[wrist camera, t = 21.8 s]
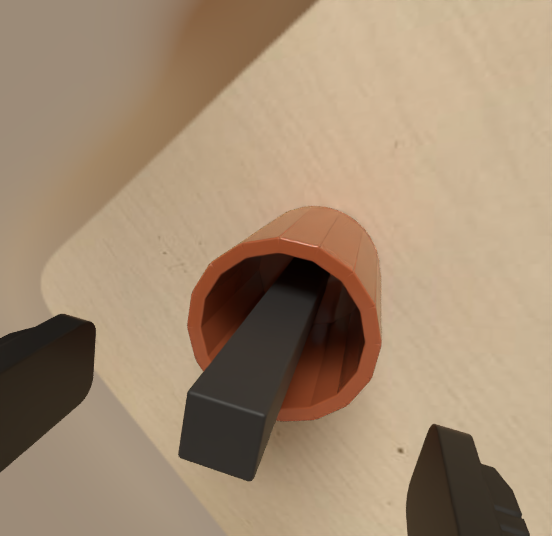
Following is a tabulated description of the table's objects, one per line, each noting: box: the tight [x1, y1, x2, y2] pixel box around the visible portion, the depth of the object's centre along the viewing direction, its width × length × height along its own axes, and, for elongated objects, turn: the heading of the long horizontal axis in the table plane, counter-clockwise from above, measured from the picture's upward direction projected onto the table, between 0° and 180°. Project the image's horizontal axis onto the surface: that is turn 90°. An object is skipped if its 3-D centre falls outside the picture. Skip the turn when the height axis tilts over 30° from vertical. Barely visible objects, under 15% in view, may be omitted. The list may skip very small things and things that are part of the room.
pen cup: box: [187, 206, 382, 421], centre depth 17 cm, size 6×6×8 cm
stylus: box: [178, 257, 330, 481], centre depth 14 cm, size 2×2×13 cm
